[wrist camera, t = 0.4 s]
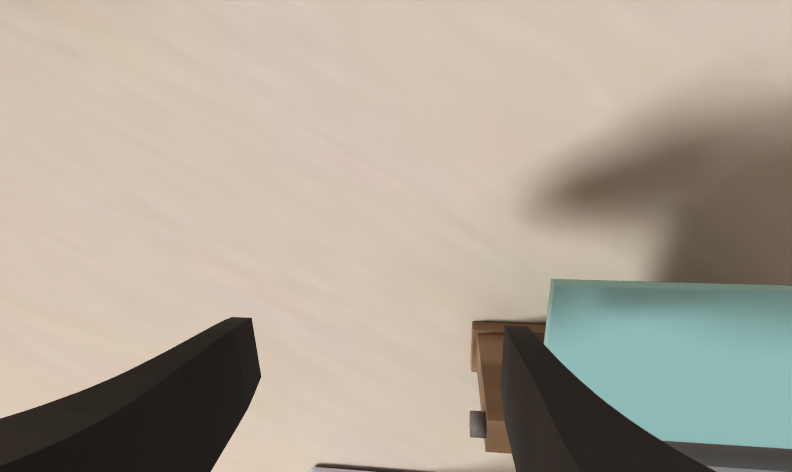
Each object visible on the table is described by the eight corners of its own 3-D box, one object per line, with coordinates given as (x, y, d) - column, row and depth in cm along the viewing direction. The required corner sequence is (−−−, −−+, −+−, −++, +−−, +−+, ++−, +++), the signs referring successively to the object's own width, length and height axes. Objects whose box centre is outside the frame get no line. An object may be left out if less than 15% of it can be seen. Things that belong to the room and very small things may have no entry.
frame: (794, 377, 22) (934, 499, 16) (463, 361, 24) (469, 465, 18) (810, 334, 21) (965, 445, 15) (464, 321, 23) (472, 415, 17)
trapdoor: (803, 516, 18) (832, 552, 17) (523, 494, 20) (529, 526, 18) (904, 281, 14) (953, 304, 13) (547, 272, 16) (557, 292, 14)
